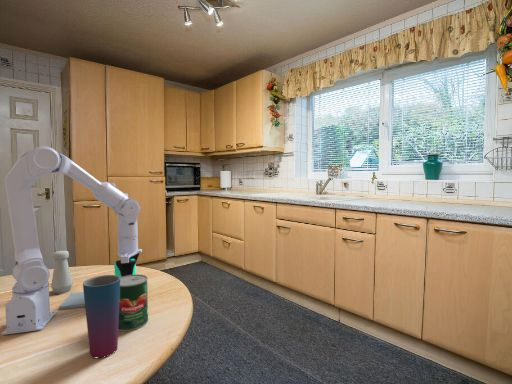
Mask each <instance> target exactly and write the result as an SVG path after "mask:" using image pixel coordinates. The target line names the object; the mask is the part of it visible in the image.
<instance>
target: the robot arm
mask: <svg viewBox="0 0 512 384" xmlns="http://www.w3.org/2000/svg"><path fill="white" fill-rule="evenodd" d="M50 173H51V174H58V175H59V174H60V175H64V176H67V177H69V178H71V179H72V180H74V181H76V182H77V183H79V184H80V185H83V187H86V188H87V189H88V190H91V192H92V194H93V198H94V199H96V200H97V201H98V202H101V203H102V204H103V205H105V206H107V207H108V208H109V209H111V210H113V212H114V213H115V215H117V216H116V217H117V221H116V222H117V223H116V224H117V225H116V226H117V252H116V253H117V254H116V255H117V256H119V258H120V259H119V260H116V261H115V262H116V265H117V267H118V268H119V270H120V273H121V277H123V276H127V275H133V269H134V266H135V263H136V264H137V261H138V258H139V256H140V253H143V249H142V248H139V241H138V240H139V238H138V237H139V230H138V226H139V225H138V216H139V214H140V213H141V209H142V207H141V206H140V203H139V202H138V201H137V199H135V198H130V197H129V194H128V193H126V192H123V191H121V190H120V189H119V188H117V187H116V184H115V183H114V182H111V183H110V182H109V181H104V182H101V181H100V180H99V179H96V178H95V177H94V176H93V175H92V174H90V173H89V172H87V170H85V169H84V168H82V167H81V166H79V165H78V164H77V163H76V162H74V161H73V160H72V159H71V158H69V157H67V156H66V155H64V154H63V153H60V152H59V153H58V151H57V150H55V149H54V148H53V147H50V146H45V145H41V146H37V147H34V148H33V149H30V150H28V151H26V152H25V153H23V154H21V155H20V156H19V157H18V158H17V160H16V161H15V162H14V164H13V166H12V167H11V169H10V170H9V171H8V173H7V174H6V175H5V177H4V187H5V194H6V201H7V207H8V214H9V220H10V225H11V233H12V240H13V246H14V247H13V248H14V257H13V258H14V265H13V267H12V268H11V269H12V270H11V275H12V277H13V279H15V281H16V282H15V284H14V285H13V287H12V288H11V293H12V294H11V295H12V296H11V298H10V300H9V301H8V302H7V304H6V307H5V325H6V327H5V329H4V330H3V331H2V332H1V335H2V336H5V335H14V334H21V333H27V332H36V331H41V330H43V328H45V327H46V326H47V324H48V323H49V322H50V321H51V319H52V318H53V317H54V316H55V315H56V314H57V310H52V311H51V310H50V309H51V308H50V305H51V304H50V303H51V302H50V282H49V279H50V273H51V272H50V270H49V268H48V267H47V266H46V265H45V264H44V263H45V262H44V258H43V256H42V255H43V254H42V252H41V249H40V243H39V236H38V235H39V234H38V230H37V229H38V228H37V221H36V213H35V207H34V200H33V194H32V185H33V184H35V183H36V182H37V181H38V180H39V179H41V178H42V177H43V176H45V175H47V174H50ZM130 259H135V260H130Z"/></svg>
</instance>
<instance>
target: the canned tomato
mask: <svg viewBox="0 0 512 384" xmlns="http://www.w3.org/2000/svg"><path fill="white" fill-rule="evenodd" d="M148 296H149V294H148V276H147V275H145V274H136V275H127V276H123V277H120V299H119V323H118V332H131V330H132V331H135V329H136V330H139V329H141V328H143V327H144V326H145V325H146V324H148V322H149V305H148V304H149V299H148V298H149V297H148ZM140 327H141V328H140ZM138 328H139V329H138Z"/></svg>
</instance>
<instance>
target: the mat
mask: <svg viewBox="0 0 512 384" xmlns="http://www.w3.org/2000/svg"><path fill="white" fill-rule="evenodd" d="M76 308H85V300H84V291H79V292H71V293H70V294H69V295H68V296H67V298H65V300H64V301H63V302H62V303H61V304H60V305H59V310H61V311H62V310H67V309H68V310H69V309H76Z"/></svg>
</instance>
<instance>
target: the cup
mask: <svg viewBox="0 0 512 384" xmlns="http://www.w3.org/2000/svg"><path fill="white" fill-rule="evenodd" d="M82 289H83V292H84V300H85V307H84V308H85V309H84V310H85V315H86V316H85V317H86V325H87V326H86V329H87V337H88V346H89V347H88V348H89V354H90V355H91V356H92V357H104V356H107V355H110V354H112V353H113V352H114V351H115V352H116V351H117V350H118V343H119V331H118V323H119V299H120V277H119V276H117V275H115V274H104V275H97V276H94V277H90V278H88V279H86V280H84V281H83V282H82ZM115 352H114V353H115ZM114 353H113V354H114ZM113 354H112V355H113ZM90 355H89V356H90ZM91 356H90V357H91ZM110 356H111V355H110ZM92 357H91V358H92ZM107 357H108V356H107ZM104 358H105V357H104Z"/></svg>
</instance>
